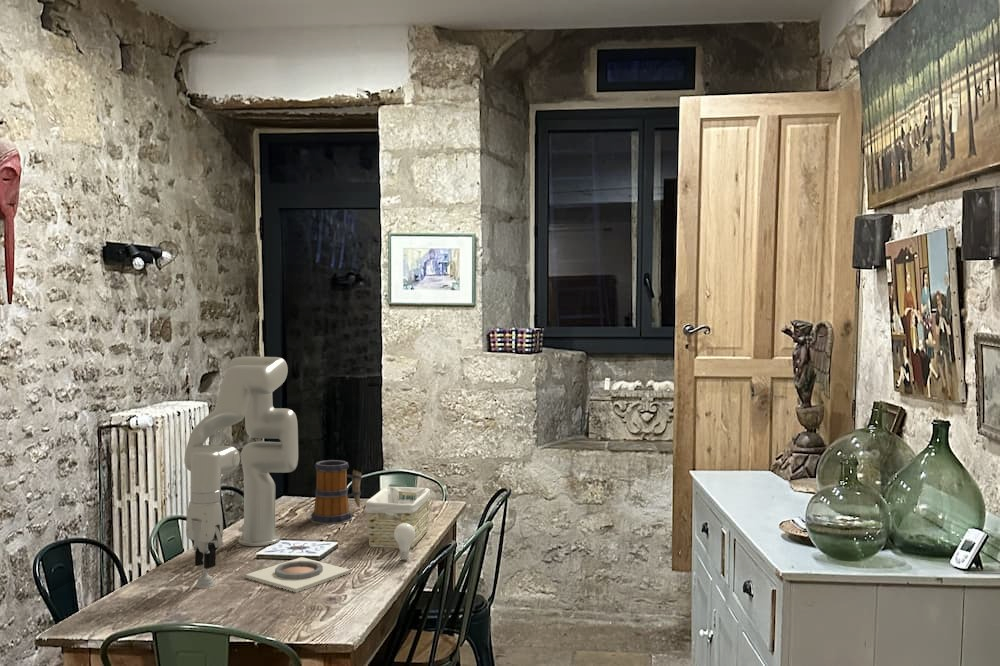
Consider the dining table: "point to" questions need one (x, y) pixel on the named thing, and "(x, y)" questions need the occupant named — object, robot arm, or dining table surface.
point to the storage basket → (396, 514)
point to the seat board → (298, 574)
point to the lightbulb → (404, 539)
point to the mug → (334, 492)
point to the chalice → (205, 579)
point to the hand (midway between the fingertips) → (205, 565)
